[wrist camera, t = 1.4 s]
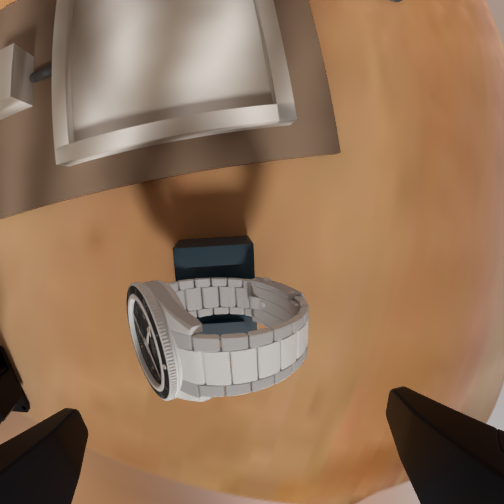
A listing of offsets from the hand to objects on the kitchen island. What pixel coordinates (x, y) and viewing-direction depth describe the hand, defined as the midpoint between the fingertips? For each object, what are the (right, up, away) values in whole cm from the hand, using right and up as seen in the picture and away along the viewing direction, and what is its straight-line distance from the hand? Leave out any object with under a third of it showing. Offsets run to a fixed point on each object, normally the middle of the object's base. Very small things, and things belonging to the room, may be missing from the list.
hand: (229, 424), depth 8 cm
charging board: (-7, +18, +10) cm, 21 cm away
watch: (-2, +3, +13) cm, 14 cm away
